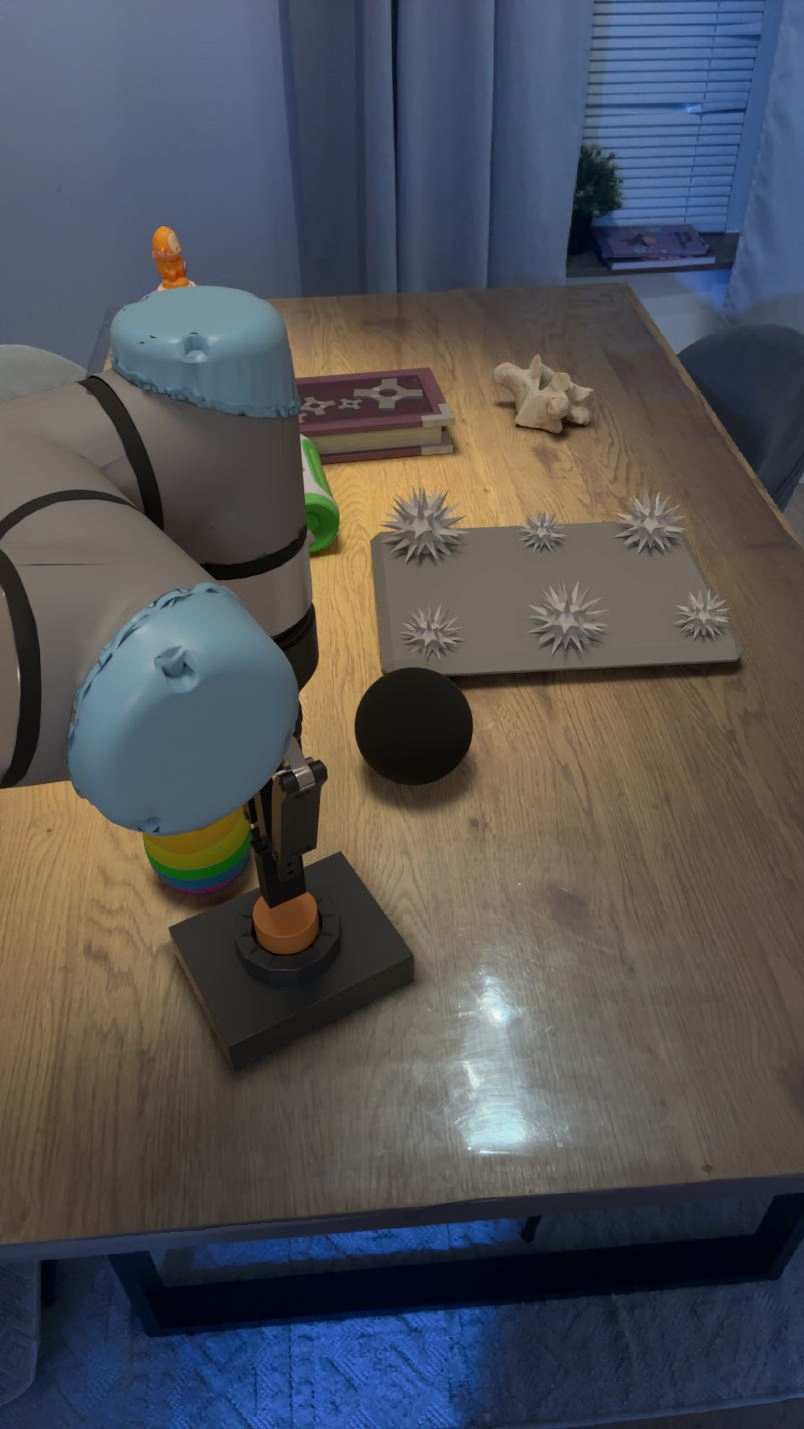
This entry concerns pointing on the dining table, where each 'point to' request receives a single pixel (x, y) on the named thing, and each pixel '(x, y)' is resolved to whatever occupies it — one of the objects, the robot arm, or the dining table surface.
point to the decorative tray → (543, 594)
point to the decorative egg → (202, 855)
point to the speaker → (318, 498)
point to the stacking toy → (169, 260)
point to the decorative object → (543, 395)
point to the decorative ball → (413, 726)
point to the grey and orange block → (291, 965)
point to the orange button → (286, 924)
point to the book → (374, 415)
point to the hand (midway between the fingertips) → (283, 893)
